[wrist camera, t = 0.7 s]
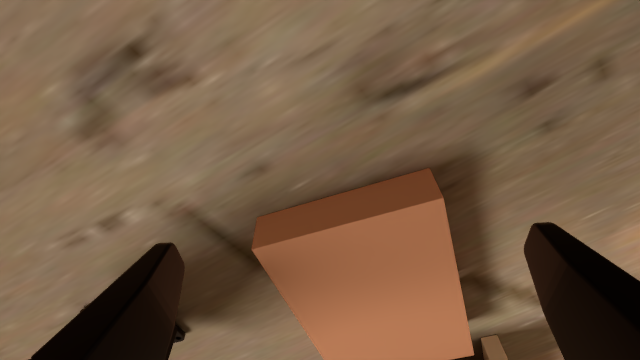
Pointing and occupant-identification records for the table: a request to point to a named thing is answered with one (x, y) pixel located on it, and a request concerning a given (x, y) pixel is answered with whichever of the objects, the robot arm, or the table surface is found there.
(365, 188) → the block
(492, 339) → the bridge
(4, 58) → the table surface
